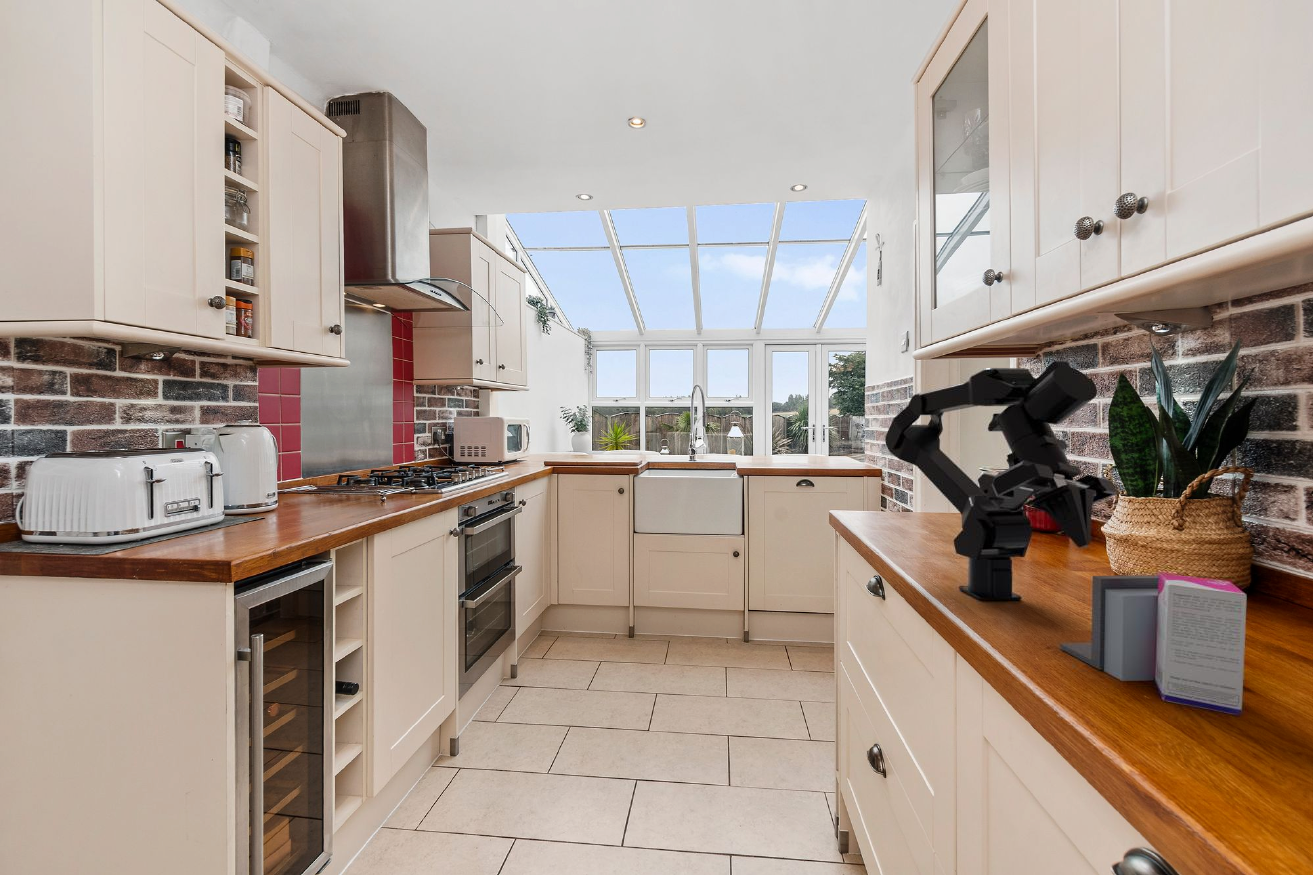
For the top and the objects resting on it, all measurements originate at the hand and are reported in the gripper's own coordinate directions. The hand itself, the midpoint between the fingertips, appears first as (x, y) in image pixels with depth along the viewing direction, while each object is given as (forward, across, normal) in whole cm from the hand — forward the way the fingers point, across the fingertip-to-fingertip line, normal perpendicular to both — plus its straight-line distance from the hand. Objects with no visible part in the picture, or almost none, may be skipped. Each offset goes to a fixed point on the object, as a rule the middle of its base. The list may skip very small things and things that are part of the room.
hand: (1084, 546), depth 76 cm
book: (+16, +5, +2) cm, 17 cm away
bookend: (+14, +4, 0) cm, 14 cm away
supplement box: (+19, +7, +6) cm, 21 cm away
